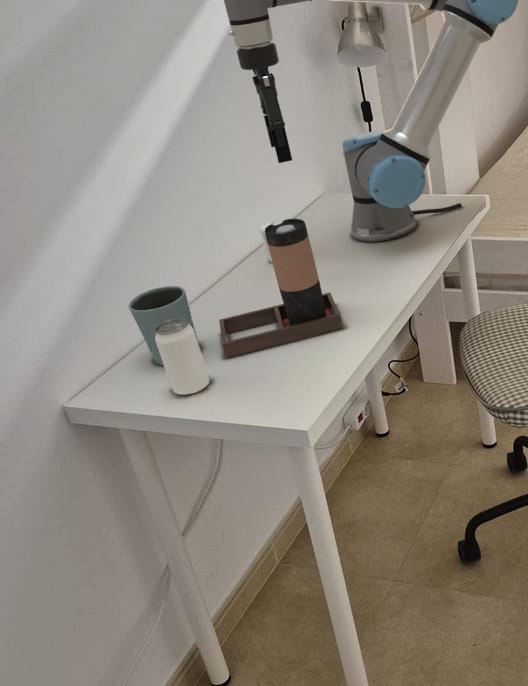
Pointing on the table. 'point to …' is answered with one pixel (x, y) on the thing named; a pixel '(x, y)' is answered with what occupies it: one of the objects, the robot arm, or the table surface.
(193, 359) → the can
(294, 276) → the travel mug
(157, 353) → the green tapered cup
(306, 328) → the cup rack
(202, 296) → the table surface
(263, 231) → the milkshake
